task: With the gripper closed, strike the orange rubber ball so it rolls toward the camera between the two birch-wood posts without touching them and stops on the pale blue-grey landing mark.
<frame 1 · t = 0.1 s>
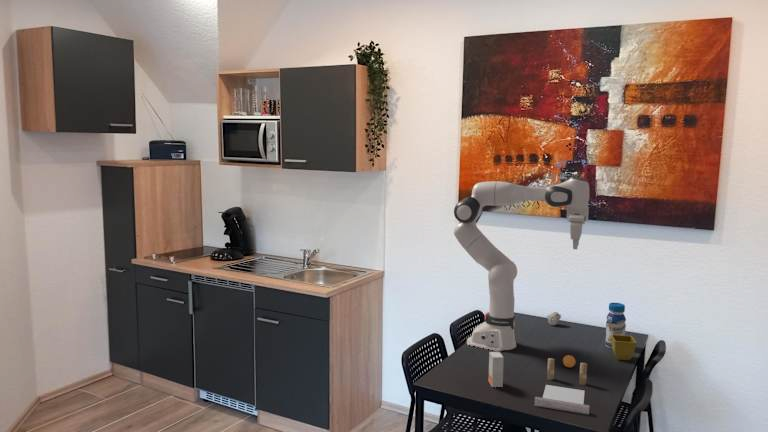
hand: (575, 247, 246), 48 cm above the table, tool pointing down, fingers open, 8 cm apart
beverage bottle: (614, 347, 262), on the table
skincare box: (495, 385, 218), on the table
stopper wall: (561, 408, 197), on the table
ball: (569, 361, 236), on the table
left post: (550, 378, 224), on the table
landing mark: (563, 395, 209), on the table
right post: (582, 383, 219), on the table
frog figurine: (553, 325, 294), on the table
flower pot: (622, 358, 247), on the table
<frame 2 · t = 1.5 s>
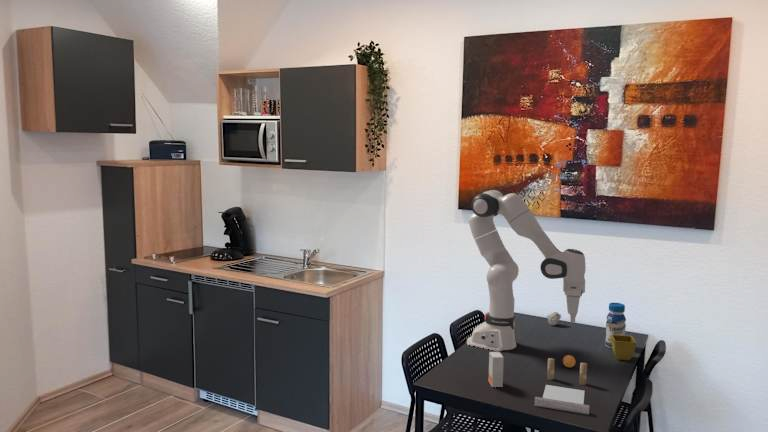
hand: (573, 319, 243), 18 cm above the table, tool pointing down, fingers open, 8 cm apart
nothing on the table moved.
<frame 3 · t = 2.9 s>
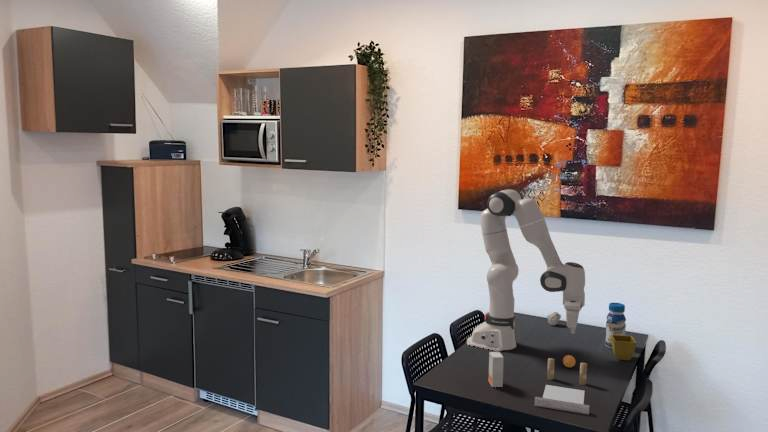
hand: (572, 332, 243), 12 cm above the table, tool pointing down, fingers closed
nothing on the table moved.
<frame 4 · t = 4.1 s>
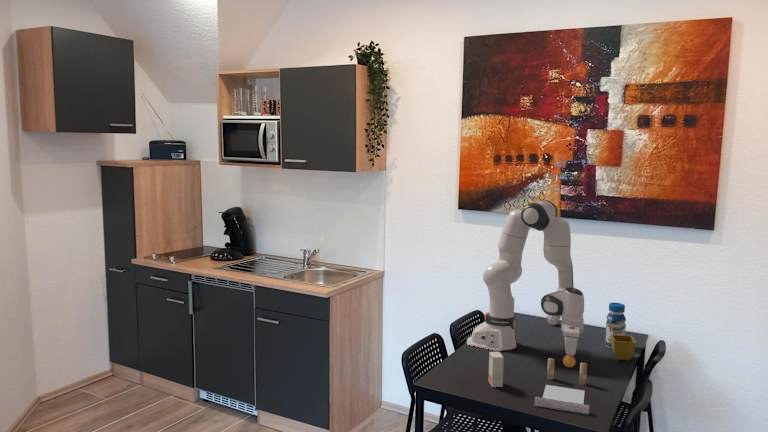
hand: (570, 358, 242), 2 cm above the table, tool pointing down, fingers closed
nothing on the table moved.
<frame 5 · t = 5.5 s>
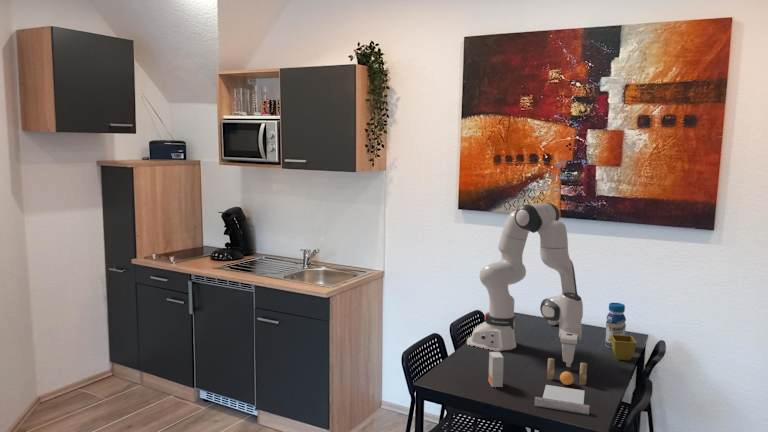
hand: (568, 365, 233), 2 cm above the table, tool pointing down, fingers closed
ball: (566, 378, 218), on the table
everything else where it was.
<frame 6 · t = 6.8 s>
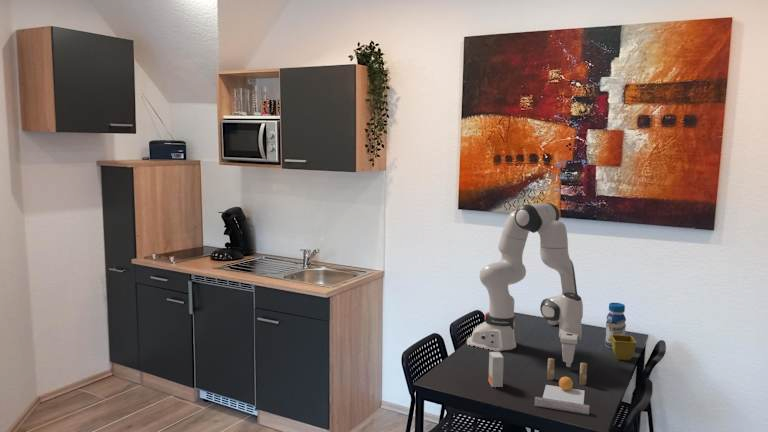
hand: (568, 365, 233), 2 cm above the table, tool pointing down, fingers closed
ball: (565, 383, 213), on the table
everything else where it was.
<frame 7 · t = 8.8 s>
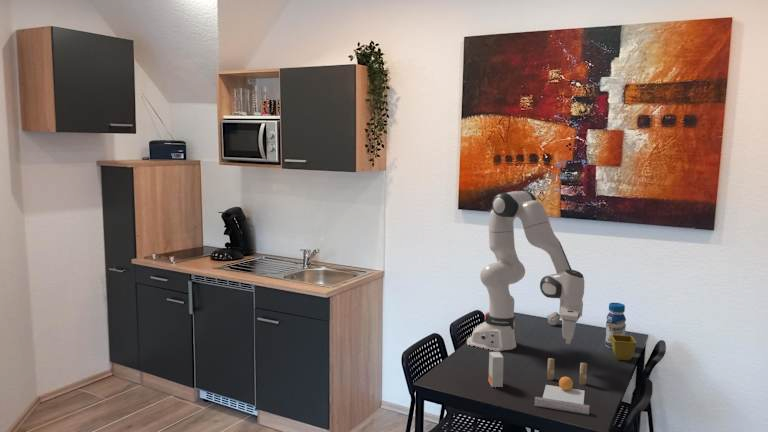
hand: (568, 342, 233), 11 cm above the table, tool pointing down, fingers closed
nothing on the table moved.
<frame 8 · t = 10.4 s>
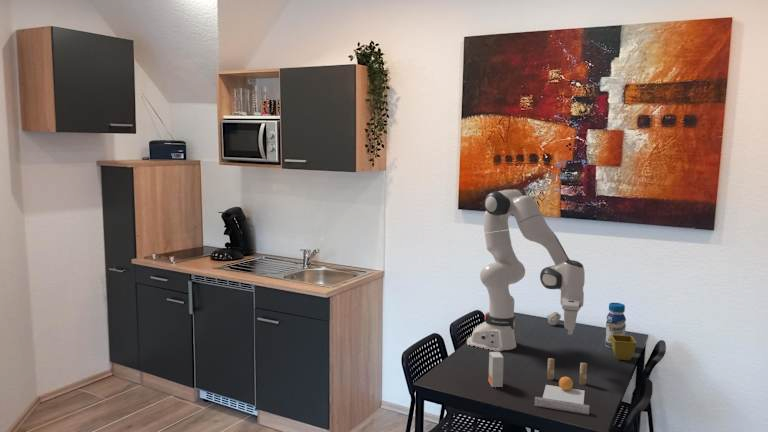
hand: (570, 333, 232), 15 cm above the table, tool pointing down, fingers closed
nothing on the table moved.
at the end: ball 5.4 cm from the landing mark (horizontally); ball never touched left post; ball never touched right post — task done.
